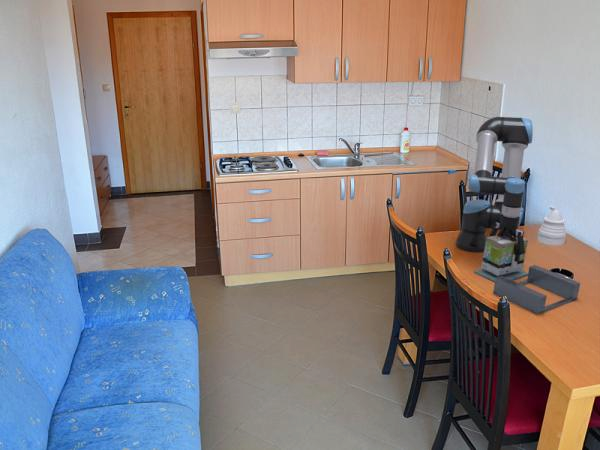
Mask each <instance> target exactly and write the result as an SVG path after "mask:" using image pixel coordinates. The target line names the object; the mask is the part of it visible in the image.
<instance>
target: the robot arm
mask: <svg viewBox="0 0 600 450" xmlns="http://www.w3.org/2000/svg"><path fill="white" fill-rule="evenodd" d="M533 135H534V134H533V122H532V120H531V119H530V118H525V117H524V118H523V117H514V116H513V117H510V116H507V117H506V116H494V117H491V118H489V119H488V120H486V121H484V122H483V124H482V125H480V127H478V130H477V132H476V137H475V138H476V143H477V148H476V149H477V150H476V155H475V156H476V157H475V158H476V159H475V163H474V164H475V166H474V172H473V174H470V175H469V177H468V179H469V181H468V186H467V189H468V191H469V192H473V193H480V194H490V195H493V194H494V195H498V198H497V199H496V200H494V204H491V202H490V201H489V200H485V199H473V200H469V201H466V202H465V203H464V206H463V210H462V213H463V214H462V222H461V230H460V232H459V234H458V235H457V238H456V239H455V240H456V241H455V246H456V247H457V248H458V249H459V250H463V251H466V252H472V253H482V252H483V253H484V249H485V244H486V238H487V237H491V236H496V235H497V236H503V235H504V236H507V237H509V239H510V240H511V241H513V242H516V241H518V244H514V252H515V254H513V258H512V264H511V268H512V269H513V268H516V267H517V262H518V261H519V258H520V255H522V254H525V255H526V253H525V248H524V239H523V238H524V235H525V231H524V230H520V229H519V228H520V224H521V222H522V219H523V216H524V215H523V213H524V208H523V207H522V204H523V198H524V193H525V189H526V188H525V185H526V182H525V180H524V179H521V176H522V169H523V160H524V153H525V152H524V151H525V150H526V149H527V148H528V147H529V144H532V143H533ZM497 142H501V146H502V148H503V149H504V154H503V160H502V169H501V176H500V177H499V176H493V168H494V167H493V165H494V156H495V147H496V145H495V144H496V143H497ZM487 229H488V230H491V231H490V234H489V236H487ZM498 231H499V232H498ZM516 235H517V236H516ZM512 236H513V237H512Z"/></svg>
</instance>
